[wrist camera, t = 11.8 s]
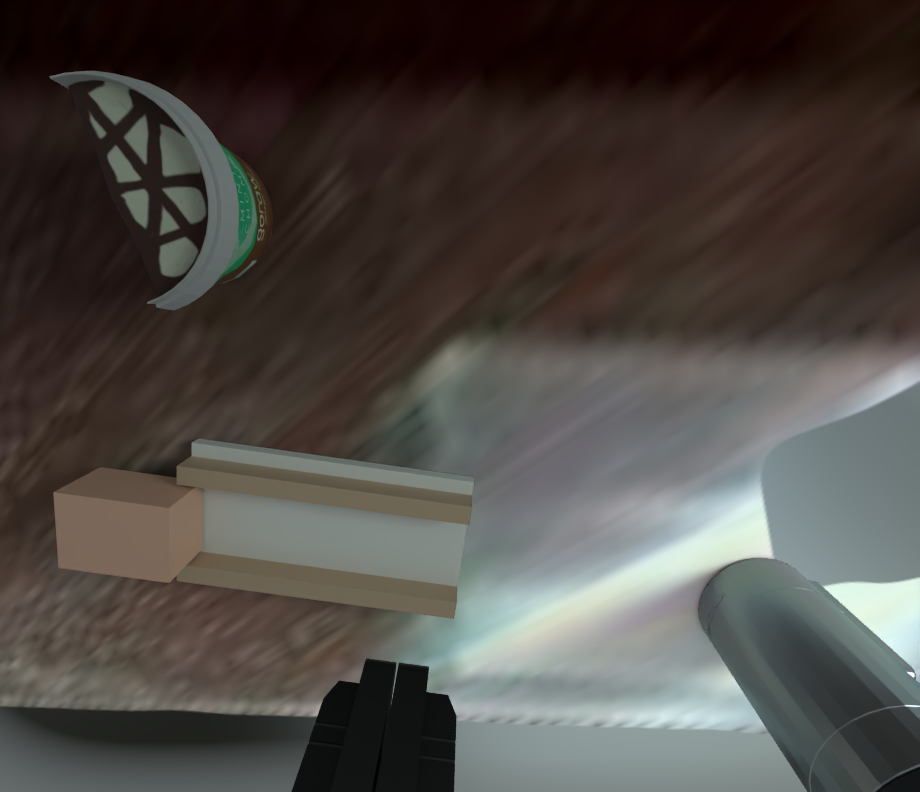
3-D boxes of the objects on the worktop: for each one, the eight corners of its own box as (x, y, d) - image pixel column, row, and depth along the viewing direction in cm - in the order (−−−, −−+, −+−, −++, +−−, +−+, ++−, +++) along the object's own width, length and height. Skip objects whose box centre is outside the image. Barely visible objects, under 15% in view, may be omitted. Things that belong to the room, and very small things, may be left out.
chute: (473, 477, 39) (474, 493, 36) (453, 605, 42) (451, 630, 39) (198, 438, 39) (176, 451, 36) (197, 570, 42) (176, 593, 39)
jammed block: (202, 481, 39) (168, 508, 34) (202, 548, 40) (169, 583, 36) (100, 467, 38) (53, 492, 34) (103, 535, 40) (58, 567, 36)
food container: (314, 278, 36) (257, 281, 26) (236, 301, 36) (151, 313, 27) (251, 95, 33) (160, 22, 23) (167, 124, 33) (44, 64, 24)
